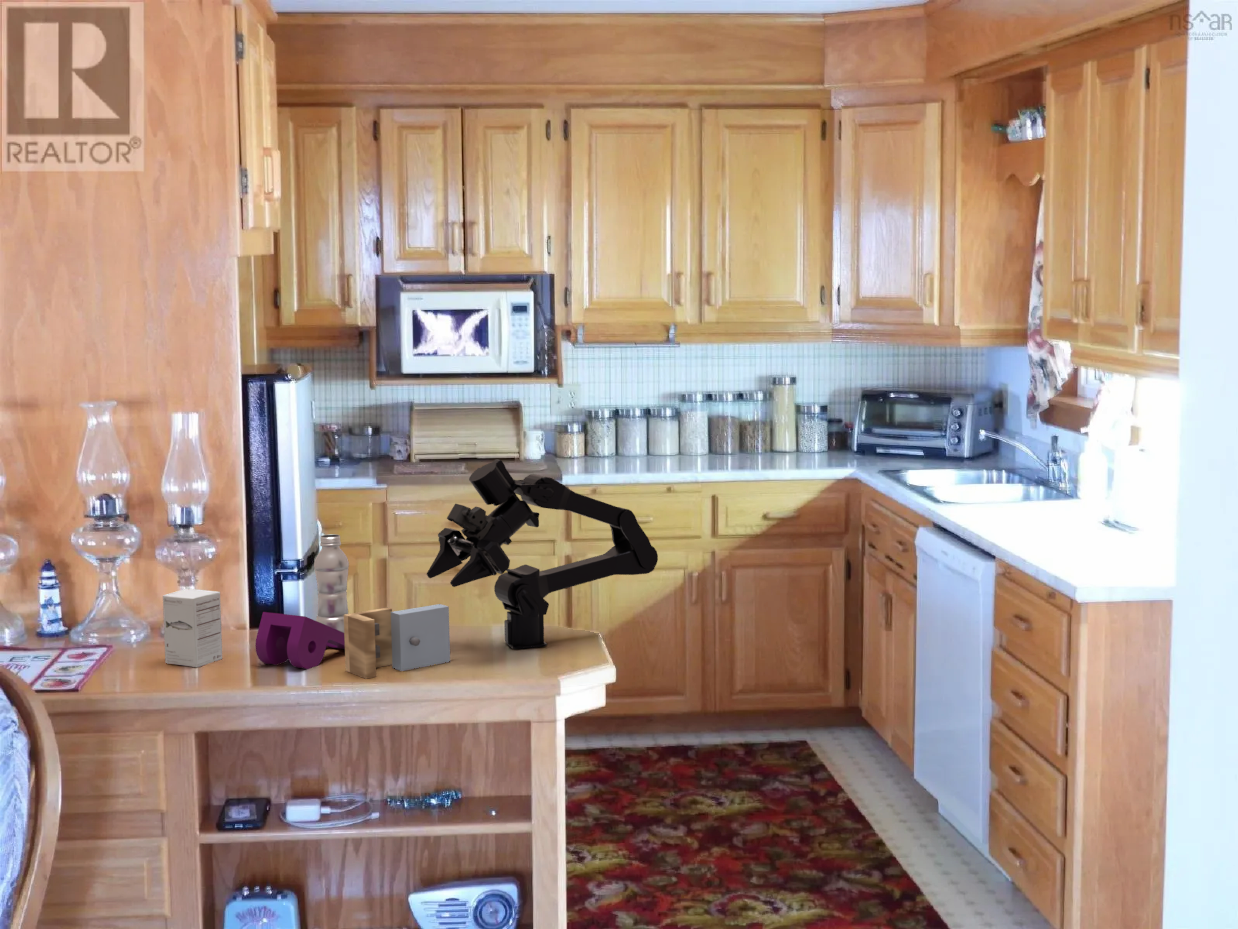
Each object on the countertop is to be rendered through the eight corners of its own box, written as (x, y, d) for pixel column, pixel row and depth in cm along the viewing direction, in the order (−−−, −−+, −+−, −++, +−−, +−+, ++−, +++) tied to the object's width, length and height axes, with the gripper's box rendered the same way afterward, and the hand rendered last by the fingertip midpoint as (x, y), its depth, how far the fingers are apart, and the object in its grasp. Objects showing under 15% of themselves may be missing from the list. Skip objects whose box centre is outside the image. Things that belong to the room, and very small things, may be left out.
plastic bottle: (309, 639, 282) (305, 536, 280) (340, 634, 287) (336, 532, 284) (327, 645, 277) (323, 539, 275) (358, 639, 282) (354, 535, 280)
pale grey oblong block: (439, 658, 266) (438, 603, 265) (453, 663, 263) (452, 607, 261) (391, 667, 260) (389, 611, 259) (404, 672, 256) (403, 615, 255)
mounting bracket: (311, 680, 276) (250, 658, 260) (322, 636, 278) (262, 611, 263) (352, 685, 271) (293, 663, 256) (362, 640, 274) (305, 616, 259)
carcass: (389, 662, 263) (387, 607, 262) (410, 670, 258) (408, 613, 257) (345, 670, 258) (343, 614, 257) (365, 678, 252) (364, 621, 251)
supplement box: (163, 664, 265) (160, 595, 263) (192, 655, 271) (189, 587, 270) (196, 668, 261) (192, 598, 260) (224, 659, 268) (221, 590, 267)
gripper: (454, 484, 275) (392, 539, 269) (504, 496, 260) (439, 555, 254) (485, 530, 280) (425, 584, 274) (536, 544, 264) (473, 602, 258)
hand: (439, 580), depth 265 cm, fingers open, 9 cm apart
